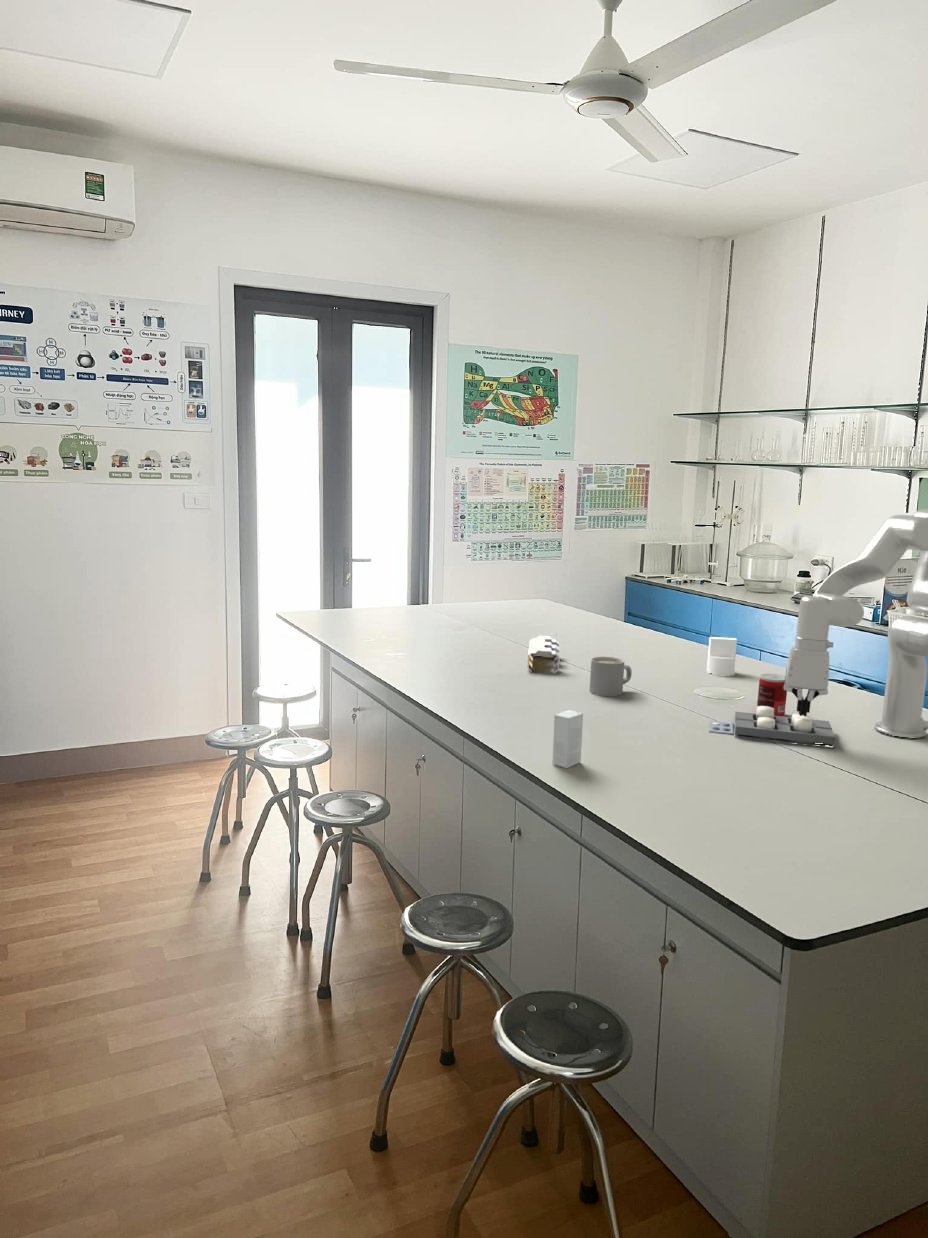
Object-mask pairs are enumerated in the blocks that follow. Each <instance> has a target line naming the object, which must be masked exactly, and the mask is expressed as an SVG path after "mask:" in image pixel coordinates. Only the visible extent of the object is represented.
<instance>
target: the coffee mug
mask: <svg viewBox="0 0 928 1238" xmlns="http://www.w3.org/2000/svg"><path fill="white" fill-rule="evenodd" d="M625 672H626V674H625ZM632 673H633V672H632V668H631V666H630V665H628V664H627V663H625V660H624V659H622V658H618V657H615V656H614V657H613V656H595V657H591V661H590V677H589V678H590V679H589V693H591V694H593V693H594V694H593V695H596V694H598V695H597V696H600V695H602V697H618V695H619V696H621V695H622V694H623V690H624V689H623V688H624V687H623V686H624V685H625V684H627V683H629V681H630V680H631V678H632V676H633V674H632ZM624 674H625V677H624Z"/></svg>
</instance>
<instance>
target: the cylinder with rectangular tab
mask: <svg viewBox="0 0 928 1238" xmlns="http://www.w3.org/2000/svg"><path fill="white" fill-rule="evenodd" d="M737 644H738V639H737V638H736V637H722V636H721V637H720V636H719V637H718V636H717V637H716V636H709V639H708V652H707V663H706V672H707V671H708V673H707V674H709V673H712V674H716V675H715V676H717V675H732V674H734V675H735V666H736V657H737V656H736V655H737V646H738V645H737ZM712 674H711V675H712ZM732 676H733V675H732Z"/></svg>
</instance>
